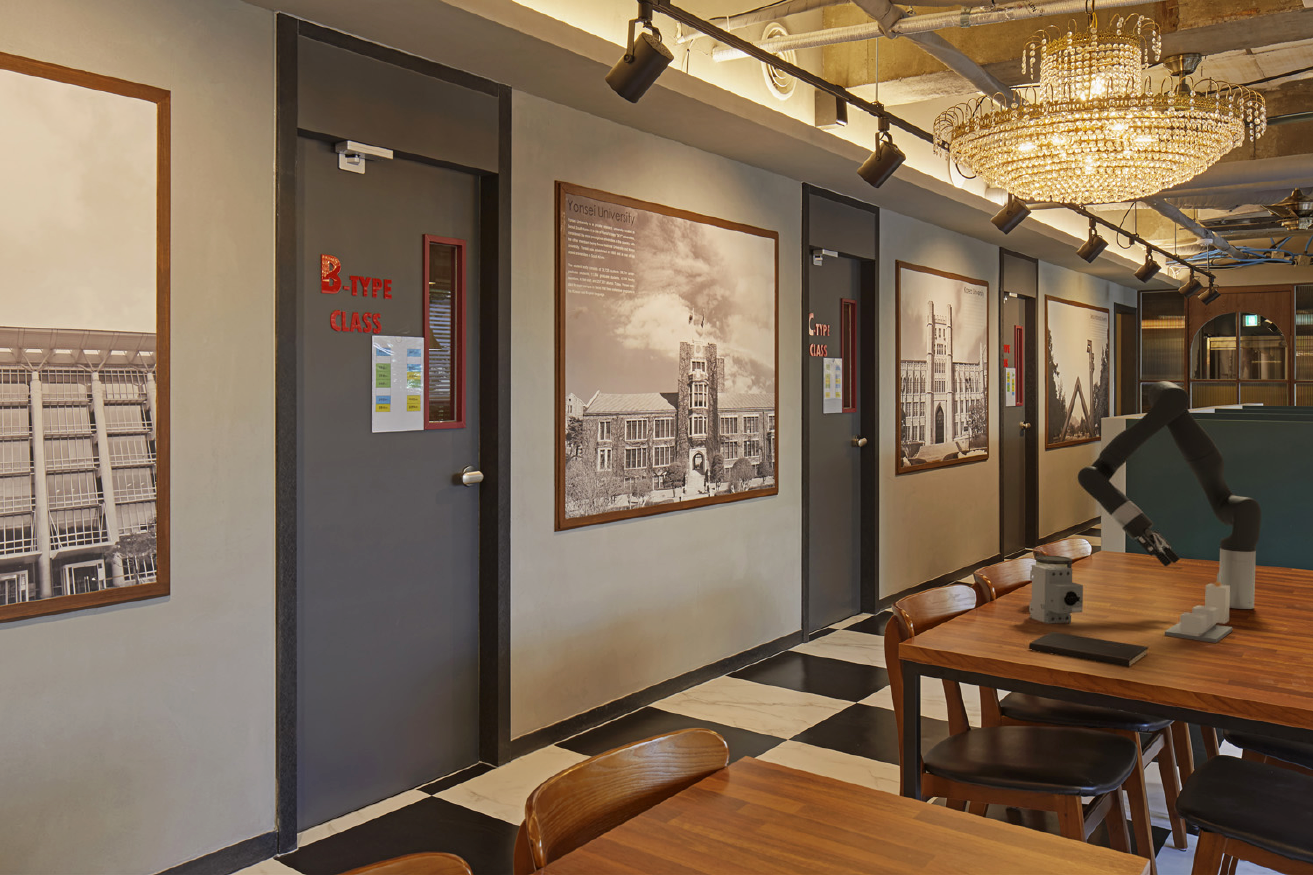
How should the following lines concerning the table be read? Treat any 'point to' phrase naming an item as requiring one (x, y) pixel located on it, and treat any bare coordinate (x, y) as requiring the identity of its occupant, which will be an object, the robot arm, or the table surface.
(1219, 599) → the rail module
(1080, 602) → the circuit breaker
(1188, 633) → the rail board
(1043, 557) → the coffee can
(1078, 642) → the hardcover book
